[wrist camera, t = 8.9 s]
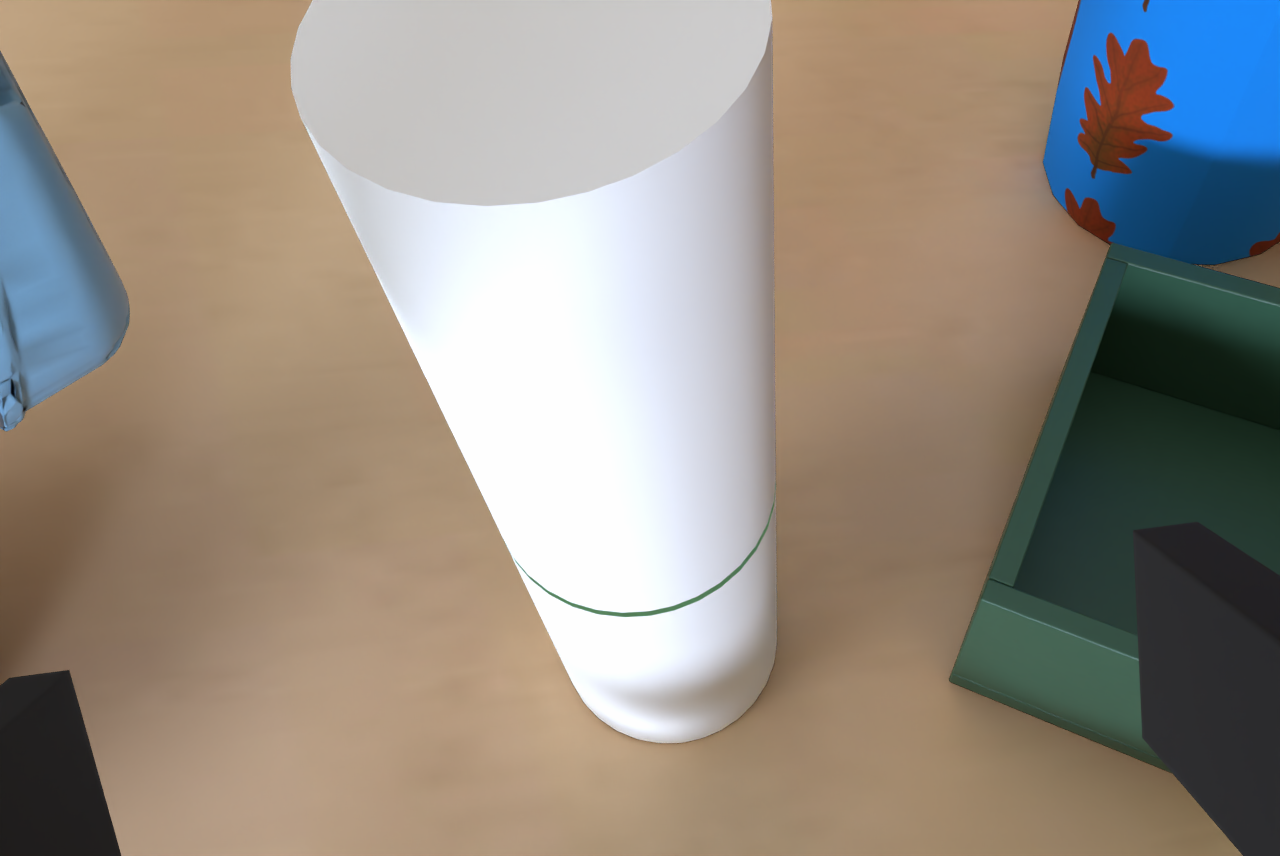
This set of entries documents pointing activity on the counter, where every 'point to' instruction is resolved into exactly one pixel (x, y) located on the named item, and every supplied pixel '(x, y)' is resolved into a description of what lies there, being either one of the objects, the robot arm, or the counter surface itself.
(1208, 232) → the thermos
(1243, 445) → the tray
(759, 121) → the cylindrical container
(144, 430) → the counter surface
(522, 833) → the counter surface
